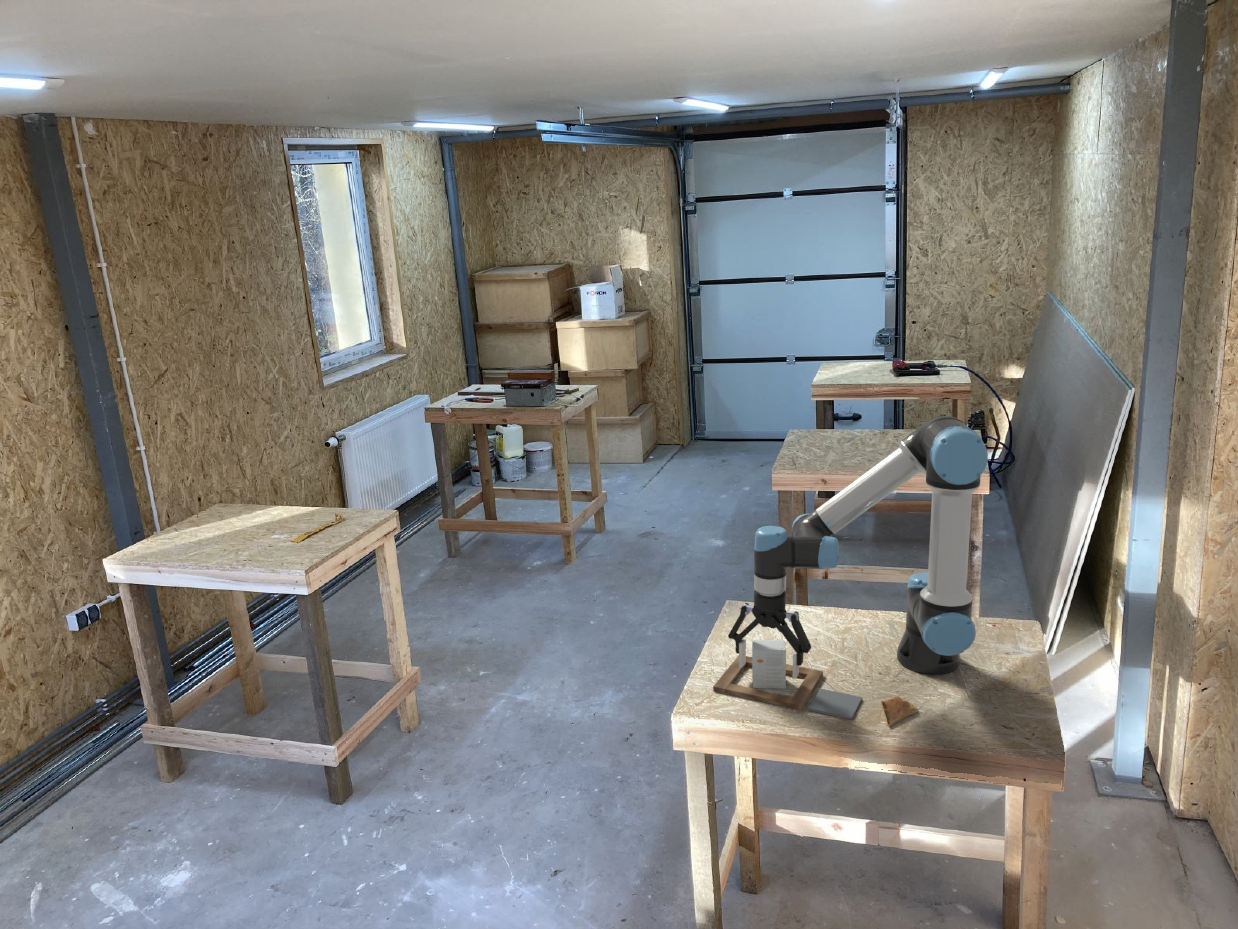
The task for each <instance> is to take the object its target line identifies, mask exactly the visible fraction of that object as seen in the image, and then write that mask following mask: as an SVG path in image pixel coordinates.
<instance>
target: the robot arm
mask: <svg viewBox="0 0 1238 929" xmlns="http://www.w3.org/2000/svg"><path fill="white" fill-rule="evenodd" d="M988 455H989V454H988V451H987V448H986V445H985V443H984V441H983V439H982V438H981V436H980V435H979V434H978V433H977V432H975V431H974V430H973V429H971V428H970V427H969V426H968V425H967V424H966V423H965V422H964V421H963V420H961V419H959V418H957V417H953V416H950V415H949V416H946V415H944V416H937V417H935V418H932V419H929V420H928V421H926V422H925V423H923V424H922V425H920V426H919V427H917V428H916V429H915V430H914V431H912V432H911V433H909V434H908V435H906V436H905V437H904V438H902V439H901V440H900V442H899V446H898V447H897V449H895V450H893V452H892V453H890V454H888V455H887V456H886V457H885V458H883V459H882V460H880V461H878V463H877V464H875V465H874V466H873V467H871V468H870V469H869V470H867V471H866V472H864V473H863V474H862V475H860V476H859V477H858V478H856V479H855V480H854V481H852V482H851V483H850V484H848V485H847V486H846V487H844V488H843V489H842V490H841V491H838V493H836V494H835V495H834V496H832V497H831V498H830V499H828V500H827V501H826V502H824V503H822V505H820V506H819V507H817V508H816V509H814V510H813V511H812V512H810V513H803V514H800V515H798V516H797V517H796V518H795V519H794V520H793V522H792V526H791V528H792V529H791V535H792V536H791V535H788V531H787V529H785V528H784V527H782V526H776V525H766V526H762V527H759V528H758V529H757V530H756V532H755V535H754V546H753V548H754V549H753V552H754V554H753V555H754V558H753V560H754V561H753V565H754V566H753V568H754V571H753V578H754V579H753V589H754V591H753V606H752V605H750V604H749V603H748V602H745V603H744V604H743V605H742V606H741V607H740V611H739V612H740V613H739V615H738V617H737V619H736V620H735V623H734V624H733V626H732V627H731V630H730V632H729V633H728V635H727V637H728V639H730V640H734V642H735V653H736V654H738V656H739V667H740V668H742V667H743V666H744V665H745V663H746V656H747V655H746V654H747V653H746V652H747V645H746V644H747V639H745V637H746V636H747V635H748V634H749V633H750V632H751V631H752V630H753V629H755V627H757V626H758V625H760V626H761V627H762V628H770V629H773V630H774V629H777V631H778V632H779V633H781V634H782V636H783V637H784V638H785V639H786V641H787V642H788V644H789V645H790V646H791V647H792V649H793V651H794V652H793V653H792V665H793V676H792V679H793V680H796V679H797V678H798V677H797V676H798V675H799V667H802V665H803V663H804V654H808V653H809V652H810V651H811V649H812V645H811V642H810V640H809V638H808V637H807V633H806V632H805V630H804V627H803V625H802V623H801V621H800V614H799V612H798V611H797V610H794V612H788V611H787V609H786V607H787V606H786V601H787V600H786V596H787V594H786V590H787V589H786V588H787V569H805V570H806V569H810V570H812V569H813V570H814V569H816V570H826V569H827V570H830V569H835V568H837V566H838V565H839V563H840V561H839V560H840V547H839V545H840V544H839V541H838V538H837V537H834V535H835V534H837V533H838V532H839V531H840V530H842V529H843V528H844V527H845V526H848V525H849V524H850V523H851V522H853V521H854V520H856V519H857V518H858V517H860V516H861V515H862V514H864V513H865V512H867V511H868V510H869V509H870V508H872V507H874V506H875V505H876V504H878V503H879V502H881V501H882V500H884V499H885V498H886V497H887V496H889V495H891V494H892V493H893V492H894V491H895V490H898V488H900V487H901V486H903V485H904V484H906V483H907V482H908V481H910V480H911V479H912V478H913V477H915V476H916V475H918V474H919V473H923V474H924V473H925V484H926V486H928V487H929V488H930V489H931V491H932V492H931V511H930V512H931V513H930V527H929V528H930V529H929V546H928V550H929V551H928V565H927V567H928V568H927V569H928V570H927V571H926V572H917V573H913V574H912V575H910V576H909V578H908V583H907V586H906V588H907V596H906V597H907V600H906V618H905V629H904V632H903V634H902V637H901V640H900V641H899V643H898V644H899V645H898V647H897V650H896V651H897V652H896V659H897V661H898V662H899V663H900V664H901V665H902V666H903V667H905V668H907V669H909V670H911V671H914V672H918V673H921V674H929V675H942V674H949V673H952V672H954V671H955V670H957V669H958V668H959V666H960V660H961V659H960V658H961V655H960V654H962V653H964V652H965V651H966V650H967V649H970V647H972V645H973V644H974V642H975V639H976V635H977V630H976V625H975V622H974V621H973V620H972V613H973V612H972V609H973V595H972V594H971V593H970V592H969V590H968V589H967V581H968V565H969V564H968V563H969V552H970V551H969V548H970V535H971V534H970V532H971V521H972V520H971V517H972V516H971V515H972V506H973V505H972V502H973V492H975V491H976V490H977V489H979V488H980V486H981V478H982V475H983V473H984V472H985V469H986V468H987V465H988V458H989V457H988ZM750 613H752V615H753V616H754V618H755V619H754V620H752V621H751V622H750V623H749V624H748V625H747V626H746V627H745V628H744V629H743V630H742V631H741V632H739V633H738V631H739V629H740V627H741V625H742V624H743V623H744V620H745V619H746V617H747V616H748V615H749V614H750ZM786 619H788V622H789V623H791V626H792V628H793V631H794V632H793V631H792V630H791V628H790V627H789V626H788V625H789V624H788V622H787V621H786Z"/></svg>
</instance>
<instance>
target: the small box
mask: <svg viewBox="0 0 1238 929" xmlns="http://www.w3.org/2000/svg"><path fill="white" fill-rule="evenodd" d="M751 642H752V643H751V644H752V645H751V646H752V648H751V653H752V654H751V657H752V667H751V668H752V669H751V670H752V672H751V673H752V675H751V676H752V679H751V680H752V687H753V688H754V689H786V688H787V682H786V681H787V674H786V664H787V650H786V648H787V647H786V644H785V642H786V641H785V639H752V641H751Z"/></svg>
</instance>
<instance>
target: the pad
mask: <svg viewBox="0 0 1238 929" xmlns="http://www.w3.org/2000/svg"><path fill="white" fill-rule="evenodd" d="M862 701H863V696H859V695H855V694H850V693H845V692H844V693H843V692H839V691H834V690H830V689H825V688H820V689H819V690H818V692H817V693H816V695H815V696H814V699H813V700H812V702H811V703H810V705H809V706H808V711H809V712H812V713H813V712H814V713H818V714H823V715H827V716H831V717H832V716H833V717H836V718H841V719H846V720H850V721H852V720H853V718H854V717H855V714H856V712H857V710H858V708H859V707H860V704H861V702H862Z"/></svg>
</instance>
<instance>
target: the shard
mask: <svg viewBox="0 0 1238 929" xmlns="http://www.w3.org/2000/svg"><path fill="white" fill-rule="evenodd" d="M880 705H881V707H882V710H883V716H884V718H885V722H887V723H886V724H887V726H888V728H891V727H892V726H894V725H895V724H896V723H898V722H900V721H901V720H903V719H905V718H907V717H909V716H912V715H913V714H916V713H917V712H919V709H918V708H917V706H915V705H914V704H913V703H911V702H910V701H907V700H906V699H903V698H901V697H899V696H896V695H895V696H893V697H891V698H889V699H886V700H882V701H880Z"/></svg>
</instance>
